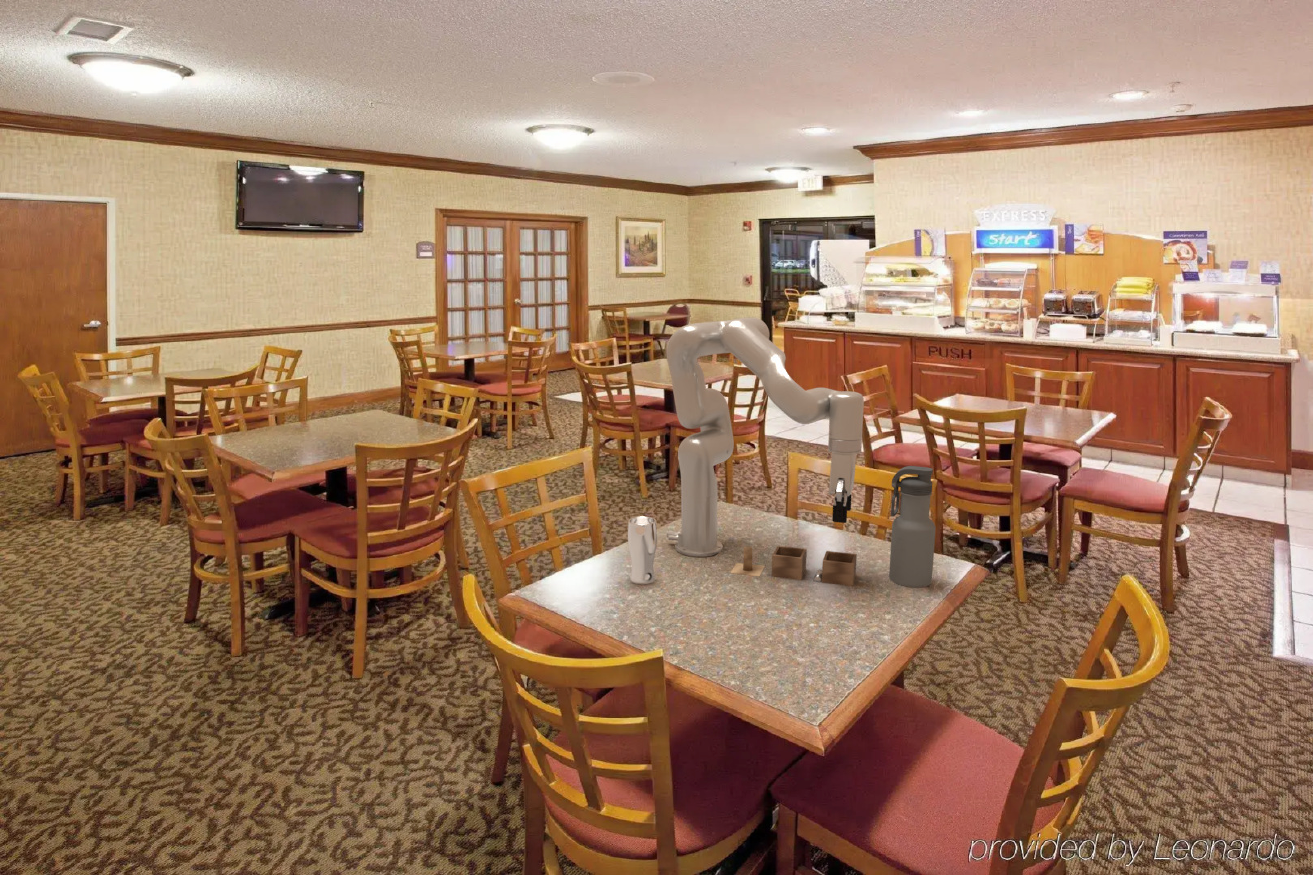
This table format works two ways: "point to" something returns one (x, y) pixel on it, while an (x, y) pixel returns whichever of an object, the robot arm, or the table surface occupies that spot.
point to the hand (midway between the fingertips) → (841, 516)
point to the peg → (818, 576)
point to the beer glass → (642, 548)
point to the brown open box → (789, 562)
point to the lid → (747, 565)
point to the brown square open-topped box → (839, 568)
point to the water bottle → (912, 529)
